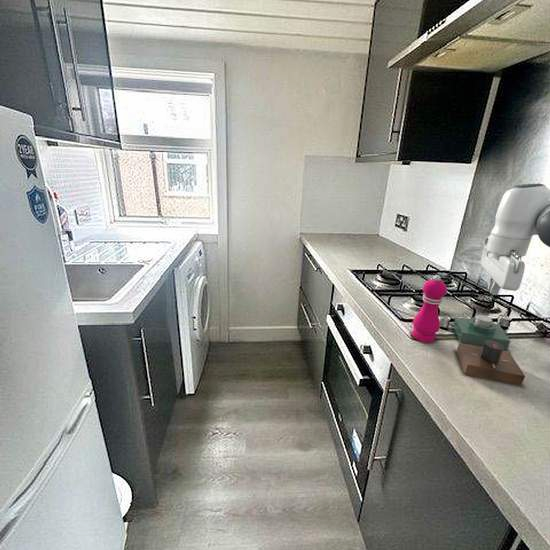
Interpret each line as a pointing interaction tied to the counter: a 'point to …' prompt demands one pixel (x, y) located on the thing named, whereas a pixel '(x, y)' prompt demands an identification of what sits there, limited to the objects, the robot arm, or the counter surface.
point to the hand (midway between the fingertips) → (492, 292)
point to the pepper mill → (429, 311)
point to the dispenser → (479, 332)
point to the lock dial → (492, 351)
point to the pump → (483, 321)
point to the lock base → (489, 365)
